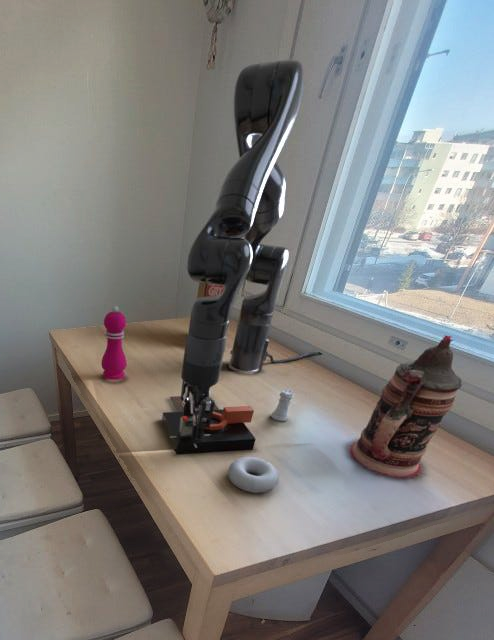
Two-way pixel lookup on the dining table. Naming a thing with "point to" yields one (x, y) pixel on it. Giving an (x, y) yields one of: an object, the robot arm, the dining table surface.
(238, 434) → the stove
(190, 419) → the knob
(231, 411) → the hanging ring
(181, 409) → the peg stand
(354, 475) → the dining table surface
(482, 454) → the dining table surface
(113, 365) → the pepper mill
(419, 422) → the beer stein
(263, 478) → the donut
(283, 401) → the rook chess piece
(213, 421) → the burner
